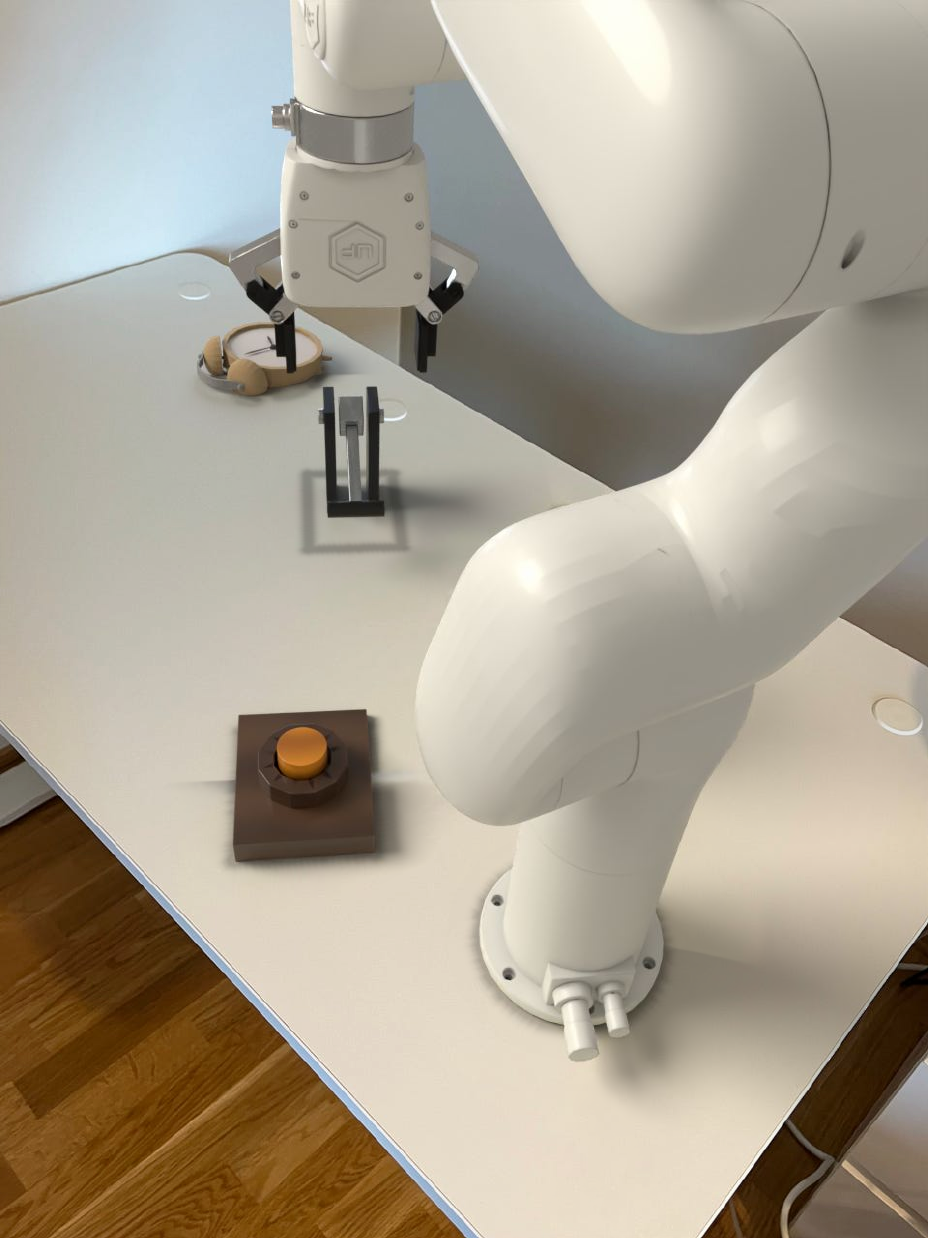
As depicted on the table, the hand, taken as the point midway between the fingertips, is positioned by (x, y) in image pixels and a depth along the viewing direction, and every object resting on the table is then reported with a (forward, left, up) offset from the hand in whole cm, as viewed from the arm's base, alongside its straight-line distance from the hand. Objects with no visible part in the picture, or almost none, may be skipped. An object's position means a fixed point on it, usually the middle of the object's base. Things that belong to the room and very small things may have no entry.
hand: (356, 363), depth 80 cm
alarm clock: (+38, +9, -24) cm, 46 cm away
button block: (-21, +5, -24) cm, 33 cm away
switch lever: (+9, 0, -16) cm, 18 cm away
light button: (-21, +5, -21) cm, 30 cm away
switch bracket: (+13, 0, -24) cm, 28 cm away
